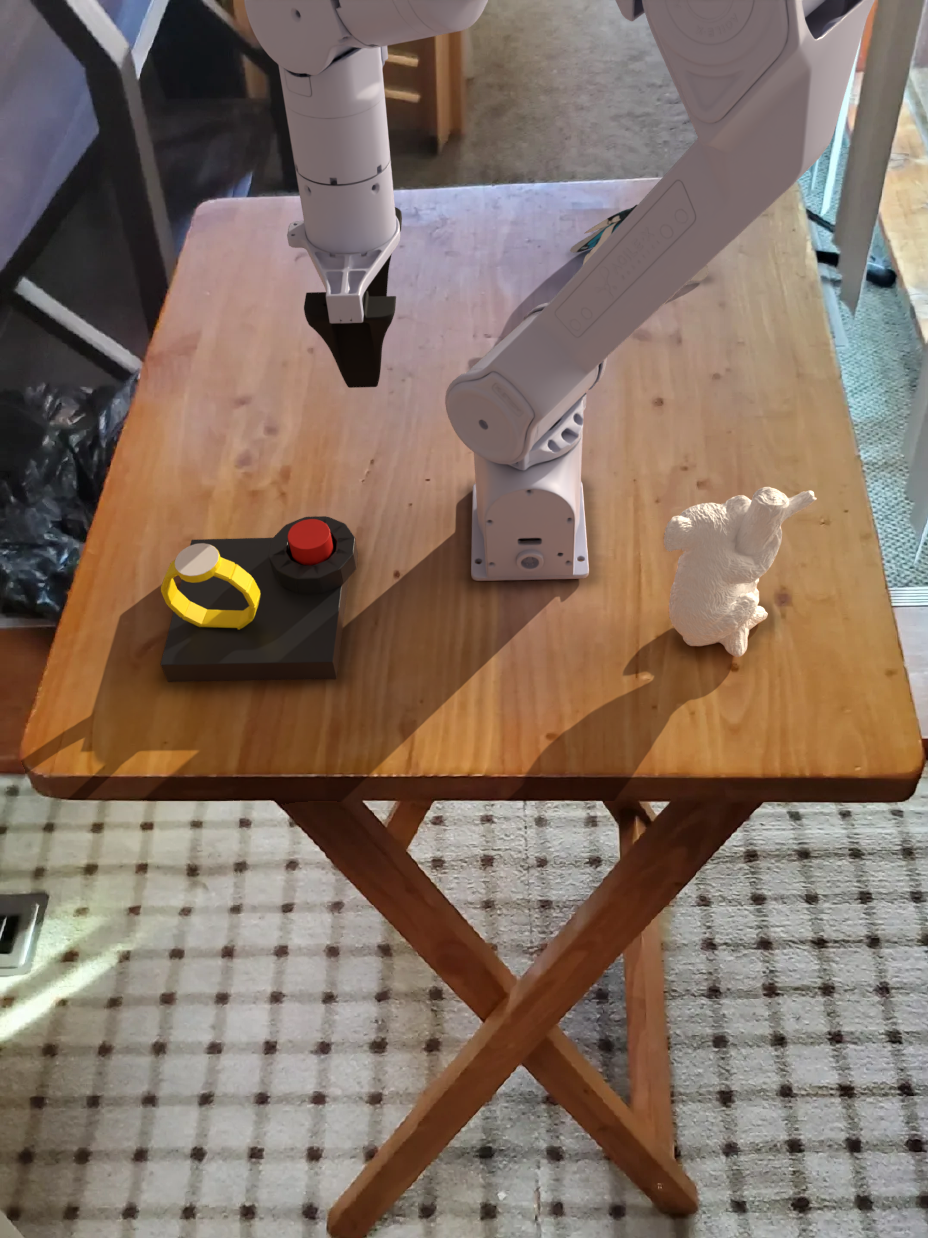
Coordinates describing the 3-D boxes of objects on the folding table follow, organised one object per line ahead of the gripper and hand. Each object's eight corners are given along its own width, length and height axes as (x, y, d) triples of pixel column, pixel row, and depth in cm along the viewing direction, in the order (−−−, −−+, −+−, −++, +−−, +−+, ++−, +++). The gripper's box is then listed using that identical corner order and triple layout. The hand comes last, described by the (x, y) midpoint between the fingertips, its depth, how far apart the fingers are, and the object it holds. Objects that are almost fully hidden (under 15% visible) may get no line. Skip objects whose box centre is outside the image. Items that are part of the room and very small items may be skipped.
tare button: (331, 565, 71) (327, 548, 70) (289, 566, 71) (285, 549, 70) (335, 534, 73) (331, 518, 72) (294, 535, 73) (290, 519, 72)
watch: (271, 608, 71) (252, 545, 66) (260, 641, 69) (240, 579, 64) (184, 601, 71) (159, 538, 67) (170, 633, 70) (144, 571, 65)
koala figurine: (776, 590, 72) (810, 454, 62) (790, 671, 67) (830, 537, 58) (647, 590, 72) (663, 455, 63) (654, 670, 68) (672, 538, 59)
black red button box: (350, 679, 69) (342, 645, 66) (168, 682, 70) (153, 649, 67) (363, 550, 76) (357, 515, 73) (198, 554, 77) (186, 519, 74)
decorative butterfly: (550, 208, 97) (651, 159, 96) (565, 266, 102) (662, 220, 101) (593, 266, 90) (702, 213, 90) (608, 325, 95) (711, 275, 95)
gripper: (288, 105, 69) (318, 289, 79) (261, 229, 60) (298, 419, 70) (398, 101, 69) (413, 286, 79) (387, 226, 60) (406, 416, 70)
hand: (366, 348), depth 75 cm, fingers open, 7 cm apart
